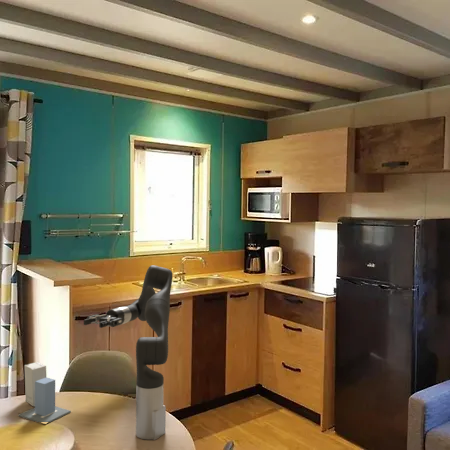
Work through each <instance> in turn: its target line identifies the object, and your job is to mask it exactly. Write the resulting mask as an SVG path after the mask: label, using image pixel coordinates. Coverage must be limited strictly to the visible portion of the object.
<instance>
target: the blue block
mask: <svg viewBox="0 0 450 450" xmlns="http://www.w3.org/2000/svg"><path fill="white" fill-rule="evenodd" d="M55 406H56V379H54V378H50V377H47V378H43V379H40V380H38V381H35V406H34V408H35V414H38V415H42V416H46V415H49V414H51V413H53V412H55Z"/></svg>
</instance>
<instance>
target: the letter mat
mask: <svg viewBox="0 0 450 450" xmlns="http://www.w3.org/2000/svg"><path fill="white" fill-rule="evenodd" d="M71 412H72V410H70V409H67V408H62V407H59V406H56V405H55V412H53V413H51V414H49V415H46V416H42V415H38V414H35V407H33V408H30V409H28V410H26V411H24V412H22V413H19V414H18V417H20V418H24V419H26V420H29V421H32V422H35V421H36V422H35V423H38V422H50V423H51V422H52V423H53V422H54V421H56V420H58V419H60V418H61V417H64V416H66V415H68V414H70V413H71Z"/></svg>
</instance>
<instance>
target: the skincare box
mask: <svg viewBox="0 0 450 450" xmlns="http://www.w3.org/2000/svg"><path fill="white" fill-rule="evenodd" d="M43 378H48V377H47V365H45V364H43V363H41V362H39V361H37V362H31V363H28V364H24V385H25V386H24V387H25V390H24V391H25V394H24V396H25V402H26V403H28V404H30V405H31V406H32V407H35V381H38V380H40V379H43Z"/></svg>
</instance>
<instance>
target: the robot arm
mask: <svg viewBox="0 0 450 450" xmlns="http://www.w3.org/2000/svg"><path fill="white" fill-rule="evenodd" d="M173 275H174V274H173V271H172V270H171V269H170V268H166V267H162V266H158V265H150V266H149V267H148V268H147V269H146V272H145V275H144V276H145V277H144V279H143V283H142V287H141V288H142V289H141V293H140V295H139V297H138V299H135V301H133V302H132V303H131V304H129V305H125V306H119V307H116V308H112V309H108V310H107V311H106V313H105V314H101V315H100V314H93V315H89V316H87V318H86V319H85V318H84V320H83V326H87V325H92V324H95V325H98V327H99V329H102V328H106V327H112V328H115V327H118V326H122V325H124V324H126V323H130V322H132V321H135V320H137V318H138V319H139V321H142V322H146V323H147V324H148V326H149V327H150V328H151V330H153V332H155V334H156V336H147V337H146V336H145V337H144V336H143V337H142V336H141V337H139V338H138V339H137V341H136V345H135V360H136V361H135V362H136V380H135V381H136V387H135V388H136V392H135V395H136V396H135V398H136V400H135V402H136V404H135V436H136V437H137V438H139V439H141V440H154V441H155V440H157V439H158V438H160V437H162V436H163V435H164V434H166V423H167V422H166V416H167V415H166V414H167V413H166V411H167V409H166V404H165V405H164V385H165V384H164V375H163V374H162V373H161V372H158V371H157V370H154V369H151V368H149V366H156V365H157V366H161V365H164V364H166V362H167V361H168V359H169V358H168V357H169V322H170V314H171V313H170V311H171V309H170V308H171V307H170V306H171V303H170V301H171V290H172V283H173ZM155 289H157V290H160V291H157V292H156V291H155Z"/></svg>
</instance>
